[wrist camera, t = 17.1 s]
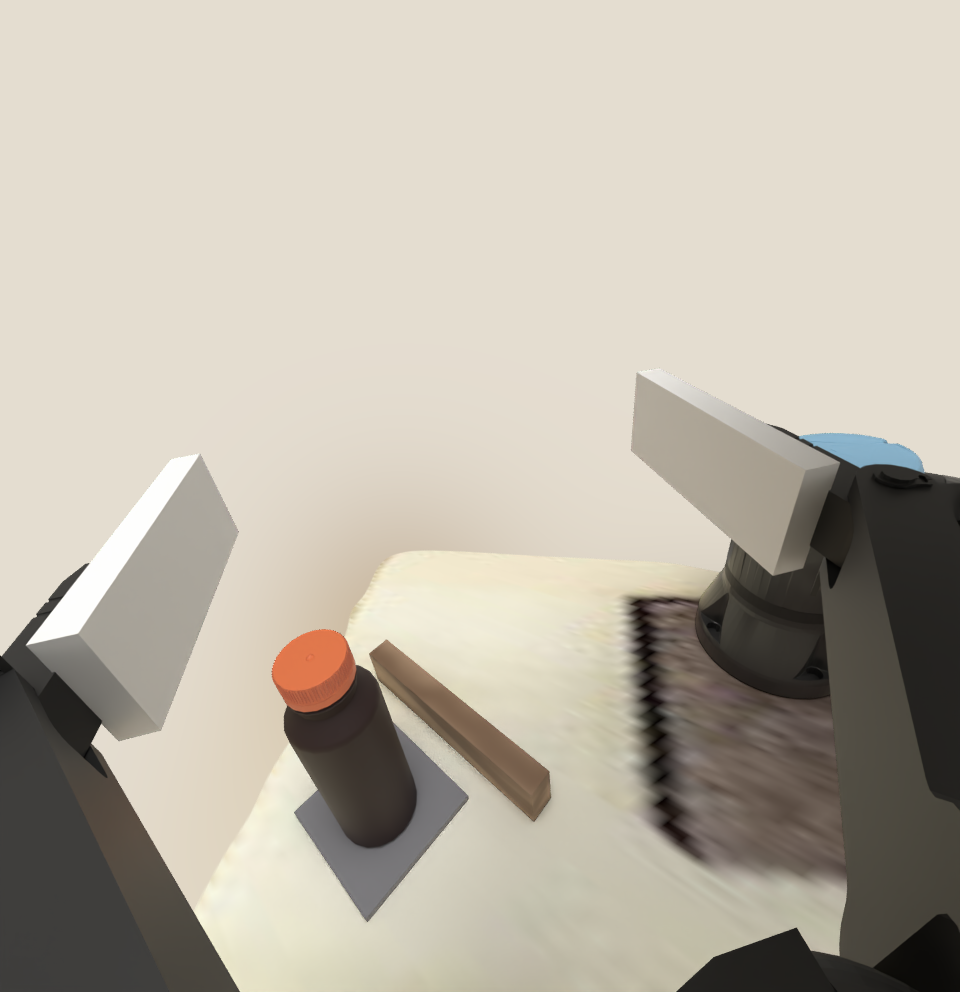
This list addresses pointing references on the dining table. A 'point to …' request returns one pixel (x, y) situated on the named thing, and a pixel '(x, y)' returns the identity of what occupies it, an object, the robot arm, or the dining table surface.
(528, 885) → the dining table surface
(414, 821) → the pad
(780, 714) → the dining table surface
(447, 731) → the door rail
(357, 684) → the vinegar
